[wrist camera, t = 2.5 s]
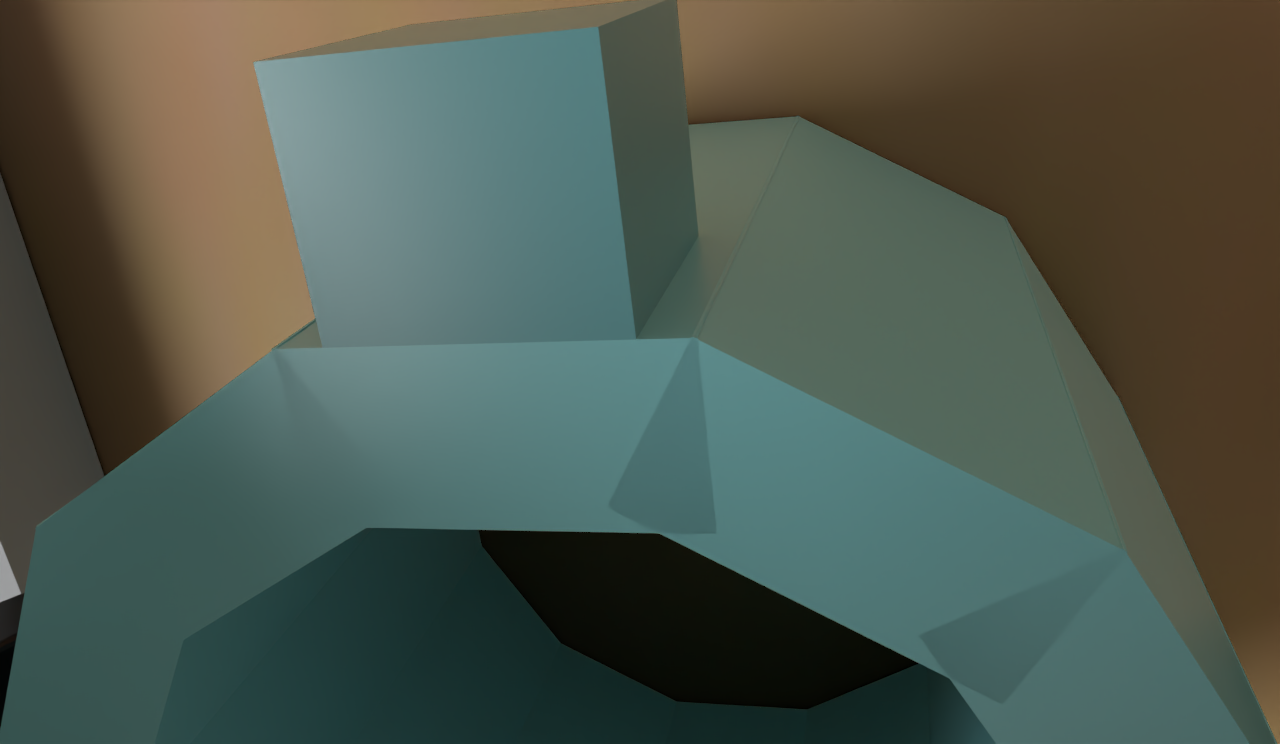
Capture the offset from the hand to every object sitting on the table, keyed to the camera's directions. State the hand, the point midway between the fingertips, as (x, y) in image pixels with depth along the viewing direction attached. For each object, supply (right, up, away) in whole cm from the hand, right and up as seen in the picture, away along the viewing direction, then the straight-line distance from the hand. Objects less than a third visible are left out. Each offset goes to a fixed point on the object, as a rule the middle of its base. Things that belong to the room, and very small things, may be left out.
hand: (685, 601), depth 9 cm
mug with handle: (0, +1, +2) cm, 2 cm away
